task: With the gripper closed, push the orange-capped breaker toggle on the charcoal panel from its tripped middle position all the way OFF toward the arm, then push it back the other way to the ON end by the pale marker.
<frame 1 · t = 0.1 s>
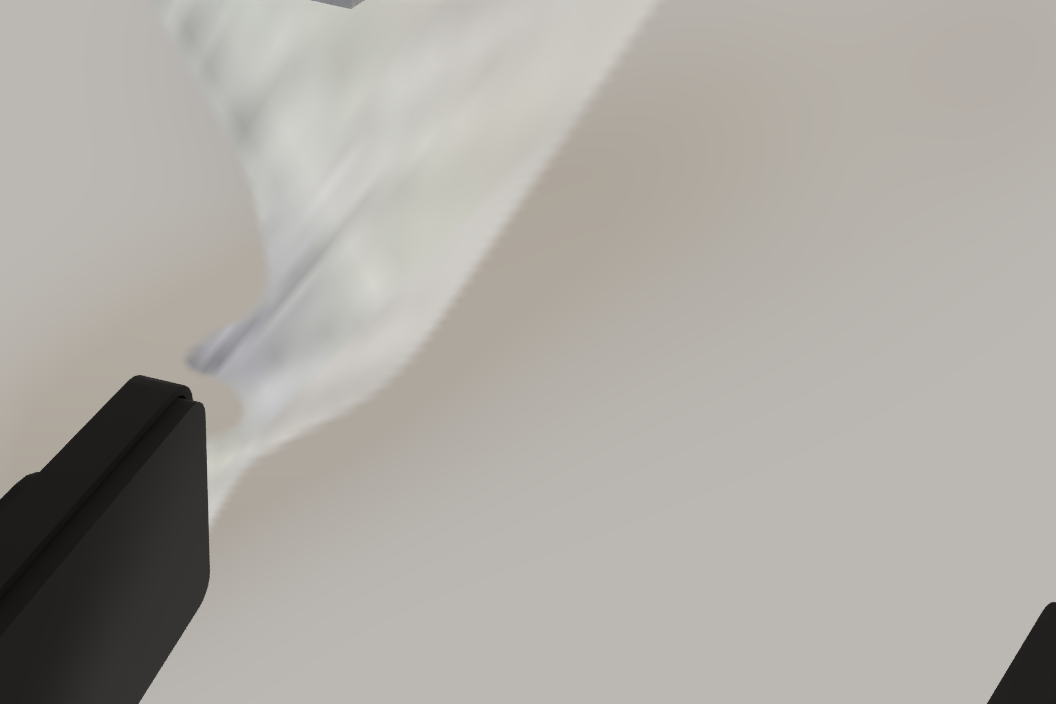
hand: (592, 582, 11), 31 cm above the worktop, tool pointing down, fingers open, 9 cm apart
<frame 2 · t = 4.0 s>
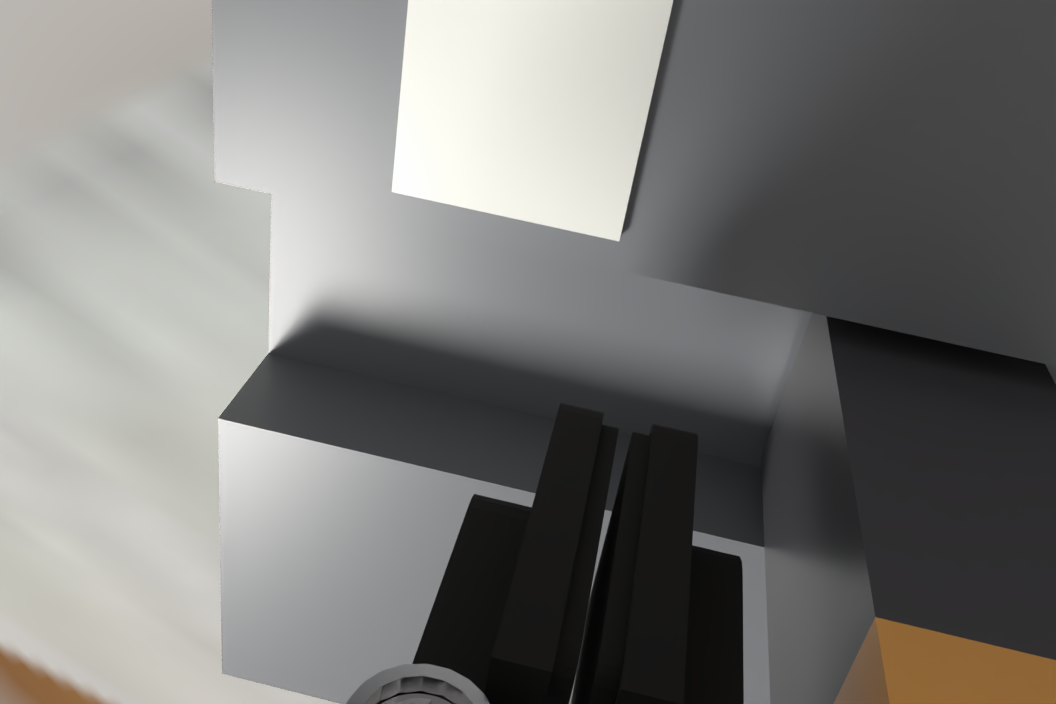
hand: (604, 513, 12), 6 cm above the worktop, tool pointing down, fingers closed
breaker toggle: (928, 575, 12), point 6 cm above the worktop, slide at 5.0 cm, touching gripper
breaker panel: (869, 326, 17), on the worktop
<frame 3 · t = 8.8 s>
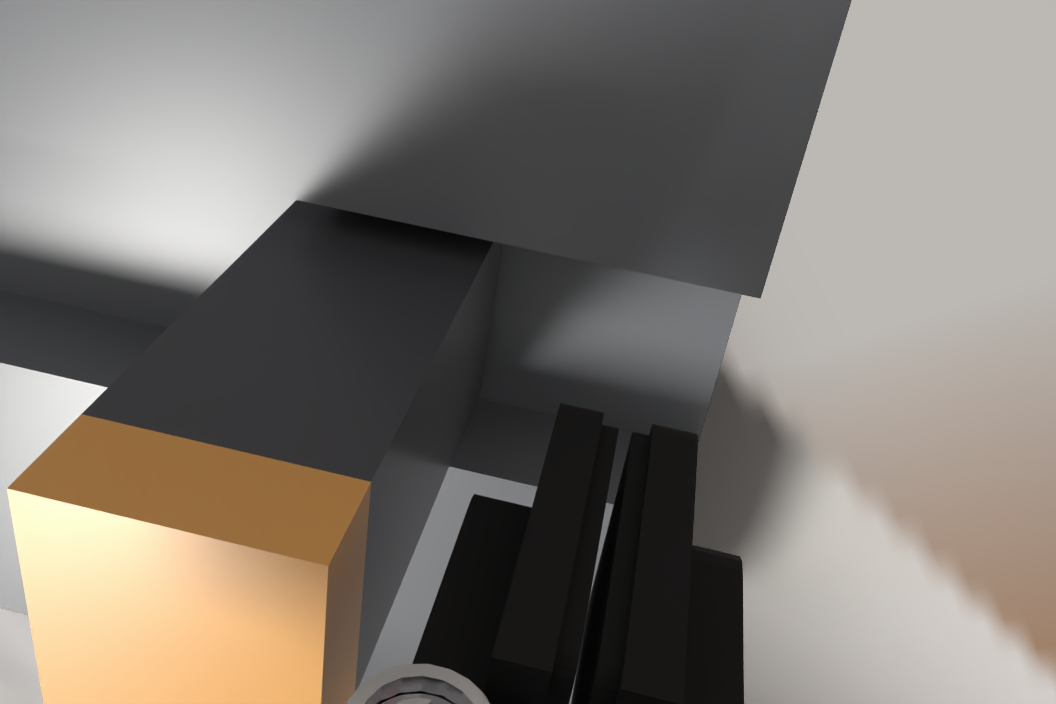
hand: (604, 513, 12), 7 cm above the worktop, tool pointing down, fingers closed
breaker toggle: (317, 423, 13), point 6 cm above the worktop, slide at 0.3 cm, touching gripper
breaker panel: (193, 180, 19), on the worktop
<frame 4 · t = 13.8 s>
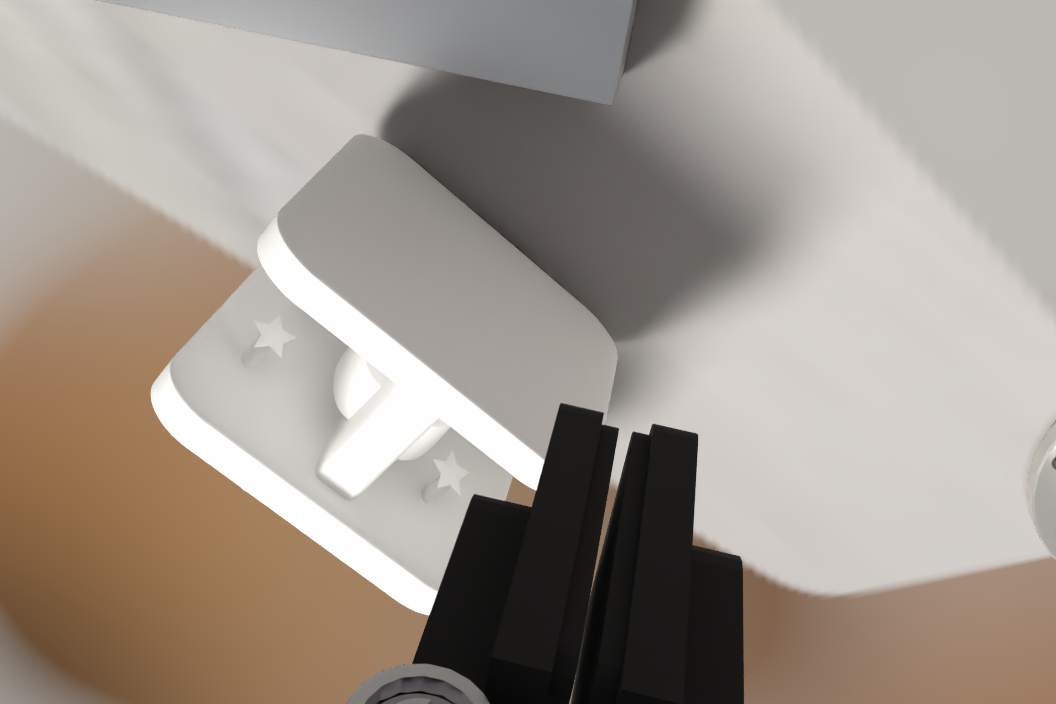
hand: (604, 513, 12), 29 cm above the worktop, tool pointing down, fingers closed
cable organizer: (441, 306, 46), on the worktop
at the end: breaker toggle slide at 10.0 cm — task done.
